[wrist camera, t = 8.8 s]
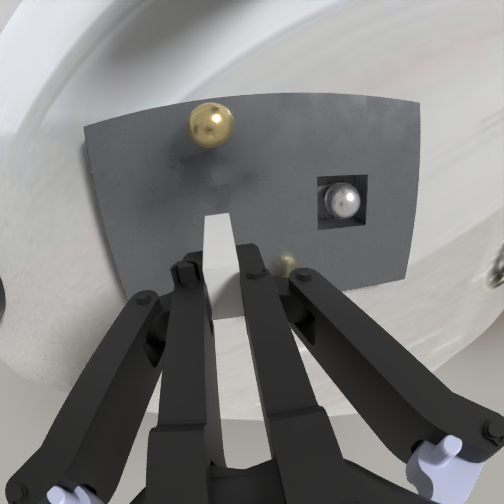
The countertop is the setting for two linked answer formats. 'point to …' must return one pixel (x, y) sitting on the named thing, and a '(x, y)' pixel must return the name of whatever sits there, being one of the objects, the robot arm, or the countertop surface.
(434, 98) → the countertop surface
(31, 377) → the countertop surface
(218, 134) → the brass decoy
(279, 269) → the plate
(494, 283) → the countertop surface
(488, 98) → the countertop surface
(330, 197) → the steel ball
